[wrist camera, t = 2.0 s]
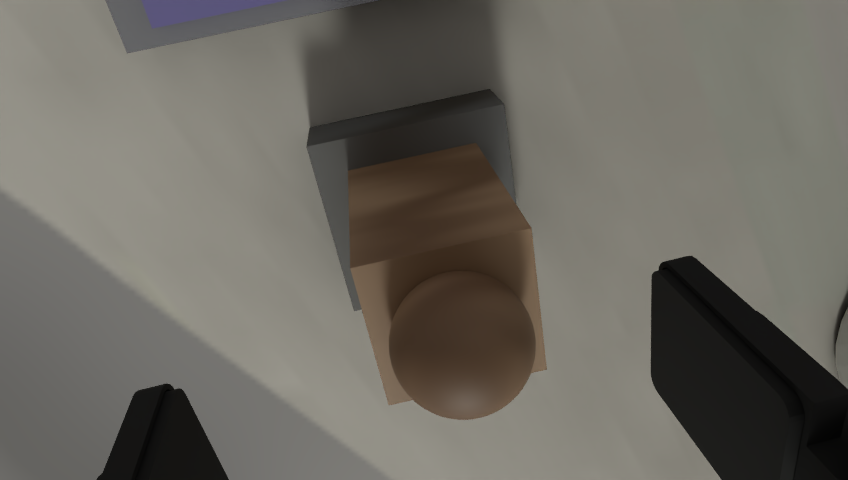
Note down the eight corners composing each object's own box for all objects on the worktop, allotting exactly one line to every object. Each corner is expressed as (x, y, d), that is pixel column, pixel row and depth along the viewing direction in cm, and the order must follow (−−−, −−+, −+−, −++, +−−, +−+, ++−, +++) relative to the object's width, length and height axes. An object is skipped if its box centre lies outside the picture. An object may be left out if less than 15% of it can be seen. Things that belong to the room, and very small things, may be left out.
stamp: (489, 88, 19) (620, 225, 10) (509, 246, 22) (627, 464, 13) (309, 127, 19) (280, 300, 10) (353, 281, 22) (361, 525, 13)
